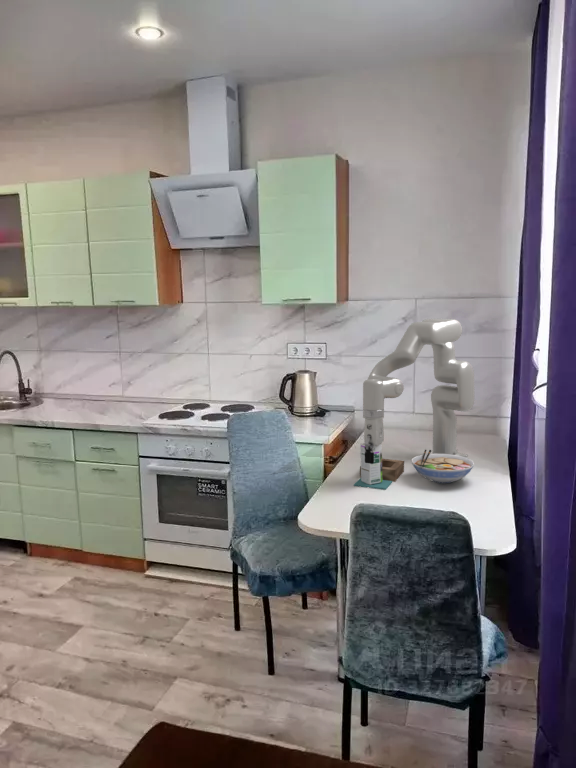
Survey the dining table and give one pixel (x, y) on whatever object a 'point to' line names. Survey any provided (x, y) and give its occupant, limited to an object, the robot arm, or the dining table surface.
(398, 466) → the walnut collar
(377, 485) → the teal mat
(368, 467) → the syrup box
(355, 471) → the dining table surface
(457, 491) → the dining table surface
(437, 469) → the ramen bowl
